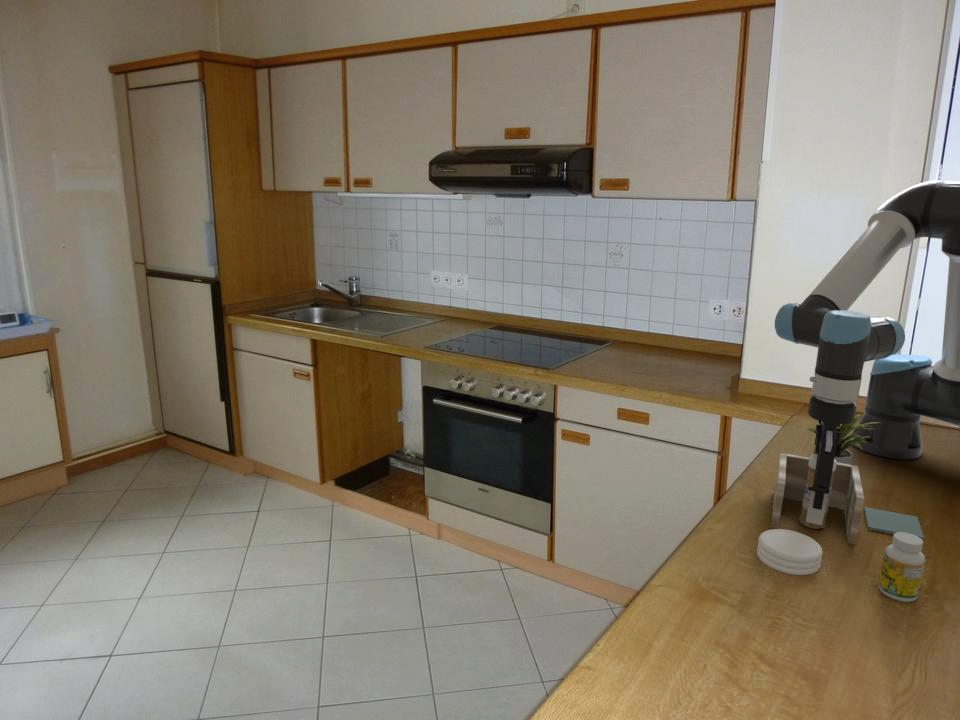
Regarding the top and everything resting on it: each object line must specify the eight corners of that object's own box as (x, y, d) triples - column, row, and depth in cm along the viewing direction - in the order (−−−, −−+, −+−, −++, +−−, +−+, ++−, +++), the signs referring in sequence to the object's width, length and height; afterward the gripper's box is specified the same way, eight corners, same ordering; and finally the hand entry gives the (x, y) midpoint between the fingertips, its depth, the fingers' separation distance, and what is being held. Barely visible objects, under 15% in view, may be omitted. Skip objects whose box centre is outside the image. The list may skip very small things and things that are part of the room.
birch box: (774, 493, 145) (780, 452, 143) (850, 508, 140) (857, 465, 138) (771, 527, 131) (778, 482, 129) (855, 544, 126) (864, 498, 123)
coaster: (782, 540, 127) (785, 523, 126) (832, 568, 118) (836, 549, 117) (743, 553, 122) (746, 535, 121) (792, 582, 114) (796, 563, 113)
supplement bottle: (924, 603, 109) (936, 547, 106) (889, 602, 109) (901, 546, 106) (904, 583, 114) (915, 530, 111) (871, 582, 114) (881, 529, 111)
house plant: (854, 501, 143) (868, 425, 139) (785, 479, 152) (796, 407, 148) (875, 481, 153) (889, 409, 149) (809, 462, 162) (821, 394, 158)
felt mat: (863, 509, 139) (864, 506, 139) (916, 519, 136) (917, 516, 136) (867, 529, 131) (868, 526, 131) (923, 540, 128) (924, 537, 128)
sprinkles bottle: (794, 518, 135) (804, 452, 131) (816, 518, 135) (828, 452, 132) (807, 530, 130) (818, 462, 127) (830, 529, 131) (842, 462, 127)
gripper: (810, 381, 136) (792, 491, 142) (811, 409, 119) (791, 533, 125) (853, 387, 133) (833, 498, 139) (861, 416, 116) (838, 542, 122)
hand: (813, 514), depth 132 cm, fingers open, 6 cm apart
